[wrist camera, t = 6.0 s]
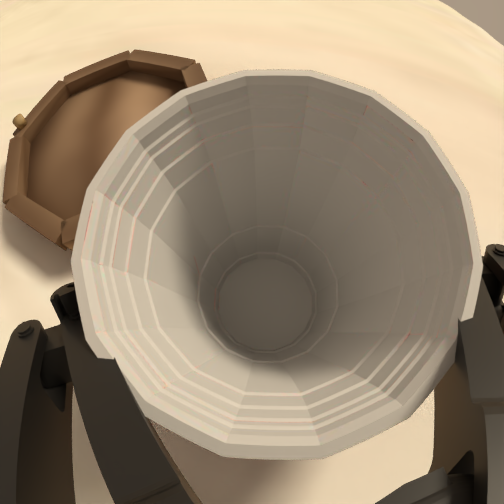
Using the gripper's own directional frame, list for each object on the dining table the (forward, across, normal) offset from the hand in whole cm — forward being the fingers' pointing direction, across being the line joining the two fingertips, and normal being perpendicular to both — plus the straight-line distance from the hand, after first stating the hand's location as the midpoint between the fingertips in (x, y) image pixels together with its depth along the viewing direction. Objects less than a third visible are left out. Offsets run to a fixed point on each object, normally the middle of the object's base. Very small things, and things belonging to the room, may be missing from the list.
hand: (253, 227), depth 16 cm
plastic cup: (+1, 0, -5) cm, 5 cm away
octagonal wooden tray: (+10, -10, +5) cm, 15 cm away
